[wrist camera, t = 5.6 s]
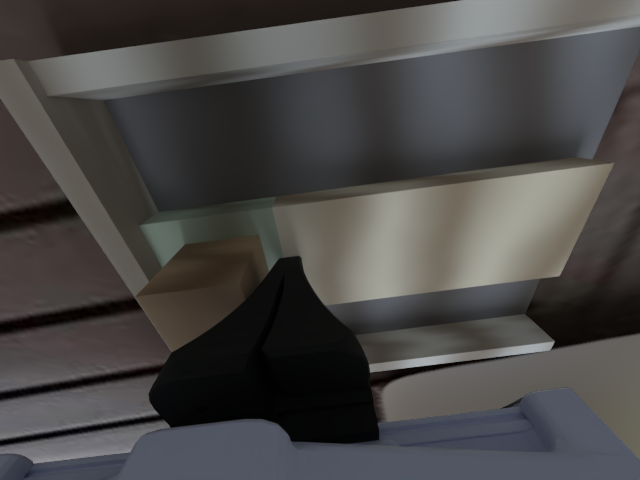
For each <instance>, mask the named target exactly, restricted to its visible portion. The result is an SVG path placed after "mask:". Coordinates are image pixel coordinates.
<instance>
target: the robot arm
mask: <svg viewBox="0 0 640 480" xmlns="http://www.w3.org/2000/svg"><path fill="white" fill-rule="evenodd" d="M149 401H150V403H151V404H152V406H153V408H154V409H155V410H156V411H157V412H158V413H159V415H160V416H161V417H162V418H163V419H164V420H165V421H166V422H167V423H168V424H169V426H170V428H165V429H160V430H156V431H153V432H149V433H147V434H145V435H143V436H141V438H140V439H139V440H138V441H137V442H136V443H135V445H134V447H133V448H132V450H131V452H130V453H121V454H113V455H104V456H96V457H87V458H79V459H71V460H62V461H54V462H45V463H37V464H33V461H31V460H30V459H28V458H27V457H25V456H22V455H19V454H1V455H0V480H640V459H639V458H638V457H637V456H636V455H635V454H634V453H633V452H632V451H631V450H630V449H629V448H628V447H627V446H626V445H625V444H624V443H623V442H622V441H621V440H620V439H619V438H618V437H617V436H616V435H615V434H614V432H612V430H611V429H609V427H608V426H607V425H606V424H605V423H604V422H603V421H602V420H601V419H600V418H599V417H598V416H597V415H596V414H595V413H594V412H593V411H592V410H591V409H590V408H589V407H588V406H587V405H586V403H584V401H582V399H581V398H580V397H579V396H578V395H577V394H576V393H575V392H574V391H573V390H572V389H571V388H567V387H566V388H557V389H549V390H540V391H534V392H530V393H528V394H526V395H525V396H524V397H523V398H522V400H521V402H520V406H519V407H511V408H503V409H495V410H487V411H478V412H469V413H460V414H452V415H443V416H435V417H427V418H419V419H410V420H401V421H393V422H384V423H378V422H377V418H376V414H375V409H374V405H373V396H372V392H371V388H370V367H369V363H368V360H367V357H366V355H365V352H364V350H363V348H362V346H361V345H360V343H359V341H358V339H357V338H356V336H355V334H354V333H353V331H352V330H351V329H349V328H348V327H347V326H346V325H344V324H343V323H342V322H341V321H340V320H339V319H338V318H337V317H335V316H334V315H333V314H332V312H331V311H330V310H329V309H328V308H327V307H326V306H325V305H324V304H323V302H322V301H321V300H320V299H319V297H318V296H317V294H316V293H315V292H314V290H313V288H312V287H311V285H310V283H309V281H308V279H307V277H306V275H305V273H304V269H303V264H302V258H301V257H300V256H293V257H285V258H279V259H278V260H277V262H276V263H275V264H274V266H273V267H272V269H271V270H270V271H269V273H268V274H267V275H266V277H265V278H264V279H263V281H262V282H261V283H260V284H259V286H258V287H257V288H256V289H255V290H254V291H253V292H252V294H251V295H250V296H249V297H248V298H247V299H246V300H245V301H244V302H243V303H242V304H241V305H239V306H238V307H237V308H236V309H235V310H234V311H232V312H231V313H230V314H229V315H228V316H226V317H225V318H224V319H223V320H221V321H220V322H219V323H217V324H216V325H215V326H213V327H212V328H210V329H209V330H208V331H206V332H205V333H203V334H202V335H200V336H198V337H197V338H195V339H194V340H192V341H190V342H189V343H187V344H185V345H184V346H182V347H180V348H179V349H177V350H175V351H173V352H172V353H171V355H170V356H169V358H168V360H167V361H166V363H165V365H164V366H163V368H162V370H161V372H160V373H159V375H158V377H157V379H156V381H155V382H154V384H153V386H152V388H151V390H150V392H149Z"/></svg>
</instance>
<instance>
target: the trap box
mask: <svg viewBox="0 0 640 480" xmlns="http://www.w3.org/2000/svg"><path fill="white" fill-rule="evenodd" d="M639 51H640V0H460V1H453V2H446V3H439V4H432V5H425V6H418V7H411V8H403V9H396V10H389V11H382V12H375V13H368V14H361V15H354V16H346V17H339V18H332V19H325V20H318V21H311V22H304V23H297V24H289V25H282V26H275V27H268V28H261V29H254V30H247V31H240V32H232V33H225V34H218V35H211V36H204V37H197V38H190V39H183V40H175V41H168V42H161V43H154V44H147V45H140V46H133V47H126V48H118V49H111V50H104V51H97V52H90V53H83V54H76V55H69V56H61V57H54V58H47V59H40V60H33V61H22V60H17V59H8V60H1V61H0V99H1V100H2V102H3V103H4V105H5V106H6V108H7V109H8V111H9V112H10V114H11V115H12V117H13V118H14V120H15V121H16V122H17V124H18V125H19V127H20V128H21V130H22V131H23V133H24V134H25V136H26V137H27V139H28V140H29V142H30V143H31V145H32V146H33V148H34V149H35V151H36V152H37V154H38V155H39V157H40V158H41V159H42V161H43V162H44V164H45V165H46V167H47V168H48V170H49V171H50V173H51V174H52V176H53V177H54V179H55V180H56V182H57V183H58V185H59V186H60V188H61V189H62V191H63V192H64V193H65V195H66V196H67V198H68V199H69V201H70V202H71V204H72V205H73V207H74V208H75V210H76V211H77V213H78V214H79V216H80V217H81V219H82V220H83V222H84V223H85V225H86V226H87V228H88V229H89V230H90V232H91V233H92V235H93V236H94V238H95V239H96V241H97V242H98V244H99V245H100V247H101V248H102V250H103V251H104V253H105V254H106V256H107V257H108V259H109V260H110V262H111V263H112V265H113V266H114V267H115V269H116V270H117V272H118V273H119V275H120V276H121V278H122V279H123V281H124V282H125V284H126V285H127V287H128V288H129V290H130V291H131V293H132V294H133V296H134V297H135V296H136V295H137V294H138V293H139V292H140V291H141V290H142V289H143V288H144V287H145V286H146V285H147V284H148V283H149V282H150V280H151V279H152V278H153V277H154V276H155V275H156V274H157V273H158V272H159V271H160V270H161V269H162V268H163V267H164V266H165V265H166V264H167V263H168V261H169V260H170V259H171V258H172V257H173V256H174V255H175V254H176V253H177V252H178V251H179V250H180V249H181V248H182V247H183V246H184V245H185V244H192V243H200V242H208V241H216V240H224V239H231V238H239V237H247V236H255V235H259V237H260V240H261V244H262V247H263V251H264V255H265V258H266V262H267V265H268V269H269V271H270V270H271V269H272V267H273V266H274V264H275V263H276V262H277V260H278V259H279V258H285V257H293V256H300V257H301V258H302V264H303V269H304V273H305V275H306V277H307V279H308V281H309V283H310V285H311V287H312V288H313V290H314V292H315V293H316V294H317V296H318V297H319V299H320V300H321V301H322V302H323V304H324V305H325V306H326V307H327V308H328V309H329V310H330V311H331V312H332V314H333V315H334V316H335V317H337V318H338V319H339V320H340V321H341V322H342V323H343V324H344V325H346V326H347V327H348V328H349V329H351V330H352V331H353V333H354V334H355V336H356V338H357V339H358V341H359V343H360V345H361V346H362V348H363V350H364V352H365V355H366V357H367V360H368V363H369V367H370V372H377V371H385V370H393V369H401V368H410V367H418V366H426V365H434V364H442V363H451V362H459V361H467V360H475V359H483V358H491V357H500V356H508V355H516V354H524V353H532V352H541V351H549V350H550V349H551V348H552V346H553V344H554V342H555V341H554V340H553V339H552V338H551V337H549V336H548V335H547V334H546V333H545V332H544V331H543V330H542V329H541V328H540V327H538V326H537V325H536V324H535V323H534V322H533V321H532V320H531V319H530V318H529V317H527V316H526V315H525V313H526V310H527V308H528V306H529V303H530V301H531V299H532V297H533V294H534V292H535V290H536V287H537V285H538V283H539V281H540V278H548V277H555V276H560V274H561V272H562V270H563V268H564V266H565V264H566V262H567V260H568V258H569V256H570V253H571V251H572V249H573V247H574V245H575V243H576V241H577V239H578V237H579V235H580V233H581V231H582V229H583V227H584V225H585V222H586V220H587V218H588V216H589V214H590V212H591V210H592V208H593V206H594V204H595V202H596V200H597V198H598V196H599V194H600V191H601V189H602V187H603V185H604V183H605V181H606V179H607V177H608V175H609V173H610V171H611V169H612V167H613V165H614V163H612V162H606V161H599V160H593V157H594V154H595V152H596V150H597V148H598V145H599V143H600V141H601V138H602V136H603V134H604V132H605V129H606V127H607V125H608V122H609V120H610V118H611V115H612V113H613V111H614V109H615V106H616V104H617V102H618V99H619V97H620V95H621V93H622V90H623V88H624V86H625V83H626V81H627V79H628V77H629V74H630V72H631V70H632V67H633V65H634V63H635V60H636V58H637V56H638V54H639ZM135 299H136V297H135ZM136 300H137V299H136ZM137 302H138V300H137ZM138 303H139V302H138ZM139 304H140V303H139ZM140 306H141V305H140ZM141 307H142V306H141ZM142 309H143V308H142ZM143 310H144V309H143ZM144 312H145V311H144ZM145 313H146V312H145ZM146 315H147V314H146ZM147 316H148V315H147ZM148 318H149V317H148ZM149 319H150V318H149ZM150 321H151V320H150ZM151 322H152V321H151ZM152 324H153V323H152ZM153 325H154V324H153ZM154 327H155V326H154ZM155 328H156V327H155ZM156 330H157V329H156ZM157 331H158V330H157ZM158 333H159V332H158ZM159 334H160V333H159ZM160 336H161V335H160ZM161 337H162V336H161ZM162 339H163V338H162ZM163 340H164V339H163ZM164 341H165V340H164ZM165 343H166V342H165ZM166 344H167V343H166ZM167 346H168V345H167ZM168 347H169V346H168ZM169 349H170V348H169ZM170 350H171V349H170ZM171 352H172V351H171Z"/></svg>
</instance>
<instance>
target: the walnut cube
mask: <svg viewBox="0 0 640 480" xmlns="http://www.w3.org/2000/svg"><path fill="white" fill-rule="evenodd" d="M268 273H269V269H268V265H267V262H266V258H265V255H264V251H263V247H262V244H261V240H260V237H259V235H255V236H247V237H239V238H231V239H224V240H216V241H208V242H200V243H192V244H185V245H184V246H183V247H182V248H181V249H180V250H179V251H178V252H177V253H176V254H175V255H174V256H173V257H172V258H171V259H170V260H169V261H168V263H167V264H166V265H165V266H164V267H163V268H162V269H161V270H160V271H159V272H158V273H157V274H156V275H155V276H154V277H153V278H152V279H151V280H150V282H149V283H148V284H147V285H146V286H145V287H144V288H143V289H142V290H141V291H140V292H139V293H138V294H137V295H136V296H135V297H136V299H137V300H138V302H139V303H140V305H141V306H142V308H143V309H144V311H145V312H146V314H147V315H148V317H149V318H150V320H151V321H152V323H153V324H154V326H155V327H156V329H157V330H158V332H159V333H160V335H161V336H162V338H163V339H164V340H165V342H166V343H167V345H168V346H169V348H170V349H171V351H172V352H173V351H175V350H177V349H179V348H180V347H182V346H184V345H185V344H187V343H189V342H190V341H192V340H194V339H195V338H197V337H198V336H200V335H202V334H203V333H205V332H206V331H208V330H209V329H210V328H212V327H213V326H215V325H216V324H217V323H219V322H220V321H221V320H223V319H224V318H225V317H226V316H228V315H229V314H230V313H231V312H232V311H234V310H235V309H236V308H237V307H238V306H239V305H241V304H242V303H243V302H244V301H245V300H246V299H247V298H248V297H249V296H250V295H251V294H252V292H253V291H254V290H255V289H256V288H257V287H258V286H259V284H260V283H261V282H262V281H263V279H264V278H265V277H266V275H267V274H268Z"/></svg>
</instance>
